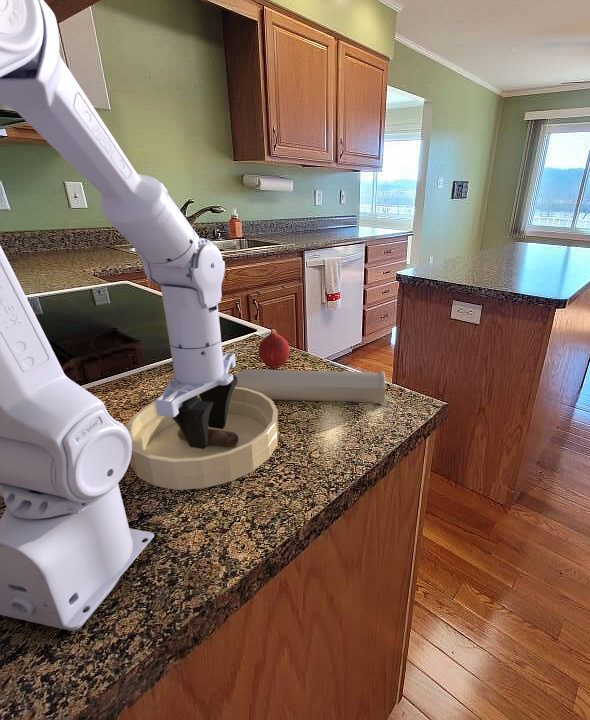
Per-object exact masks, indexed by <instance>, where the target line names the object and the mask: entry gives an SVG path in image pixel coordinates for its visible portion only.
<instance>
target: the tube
mask: <svg viewBox="0 0 590 720" xmlns="http://www.w3.org/2000/svg"><path fill="white" fill-rule="evenodd" d="M234 376H236V377H237V381H238V382H237V384H236V386H235V387H241V388H248V389H251V390H254V391H257V392H260V393H262V394H264V395H265V396H267V397H268V398H269V399H271V400H272V401H273V400H277V401H278V400H279V401H311V402H313V401H315V402H317V401H318V402H349V403H350V402H352V403H373V404H378V405H380V406H384V405H385V398H386V374H385V370H381V371H379V372H371V371H370V372H369V371H367V372H365V371H333V370H332V371H330V370H327V371H325V370H296V369H295V370H291V369H289V370H288V369H286V370H285V369H253V368H252V369H251V368H249V369H248V368H247V369H246V368H245V369H242V370H241V371H239V372H238V373H236V374H235V375H234Z"/></svg>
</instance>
